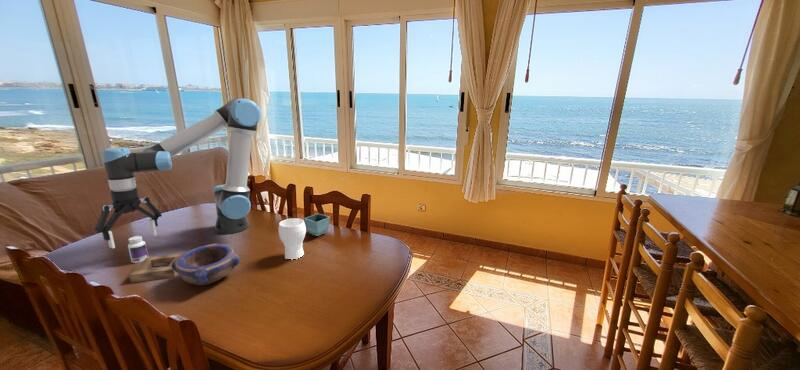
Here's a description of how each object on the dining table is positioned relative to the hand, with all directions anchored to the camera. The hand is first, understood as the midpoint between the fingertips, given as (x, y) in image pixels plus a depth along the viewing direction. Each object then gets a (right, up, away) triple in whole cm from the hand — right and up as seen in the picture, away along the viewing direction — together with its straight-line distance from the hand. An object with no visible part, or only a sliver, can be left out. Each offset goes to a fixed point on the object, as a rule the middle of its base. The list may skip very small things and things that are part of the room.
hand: (134, 240), depth 118 cm
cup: (+61, -8, +7) cm, 62 cm away
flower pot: (+65, -2, +28) cm, 71 cm away
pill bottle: (0, -8, +3) cm, 9 cm away
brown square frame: (+14, -10, -5) cm, 19 cm away
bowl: (+36, -12, -10) cm, 40 cm away
